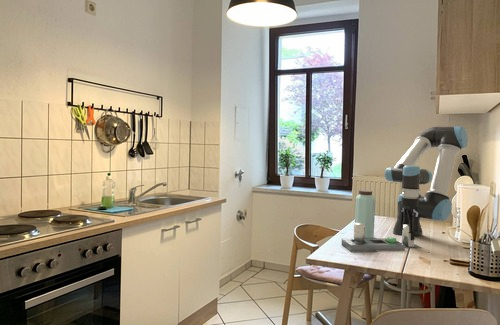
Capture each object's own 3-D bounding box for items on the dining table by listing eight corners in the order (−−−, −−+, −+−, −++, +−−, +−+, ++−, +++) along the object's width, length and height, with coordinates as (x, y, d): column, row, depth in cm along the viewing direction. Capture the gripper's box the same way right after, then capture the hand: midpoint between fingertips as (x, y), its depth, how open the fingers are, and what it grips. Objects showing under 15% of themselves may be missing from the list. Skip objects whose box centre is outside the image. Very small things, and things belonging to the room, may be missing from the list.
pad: (411, 243, 183) (411, 242, 183) (423, 249, 173) (423, 248, 173) (392, 243, 182) (393, 242, 182) (403, 249, 172) (403, 248, 172)
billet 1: (361, 243, 176) (362, 222, 175) (366, 246, 171) (366, 225, 170) (351, 243, 175) (352, 222, 175) (355, 246, 170) (356, 225, 170)
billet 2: (409, 244, 180) (410, 224, 180) (415, 246, 176) (416, 226, 175) (400, 244, 180) (401, 224, 179) (405, 246, 175) (406, 226, 175)
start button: (393, 241, 177) (393, 237, 177) (397, 244, 173) (398, 239, 173) (385, 241, 176) (385, 237, 176) (389, 244, 172) (389, 239, 172)
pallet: (392, 244, 181) (392, 238, 181) (404, 251, 169) (405, 245, 169) (341, 244, 178) (341, 238, 178) (350, 251, 166) (351, 245, 166)
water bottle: (374, 240, 187) (377, 192, 186) (354, 239, 189) (356, 191, 188) (372, 236, 197) (374, 190, 196) (353, 234, 199) (355, 189, 198)
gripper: (393, 194, 185) (391, 240, 186) (413, 200, 167) (410, 250, 168) (407, 195, 186) (405, 240, 187) (428, 200, 168) (425, 250, 169)
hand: (407, 244), depth 178 cm, fingers closed on billet 2, 5 cm apart
